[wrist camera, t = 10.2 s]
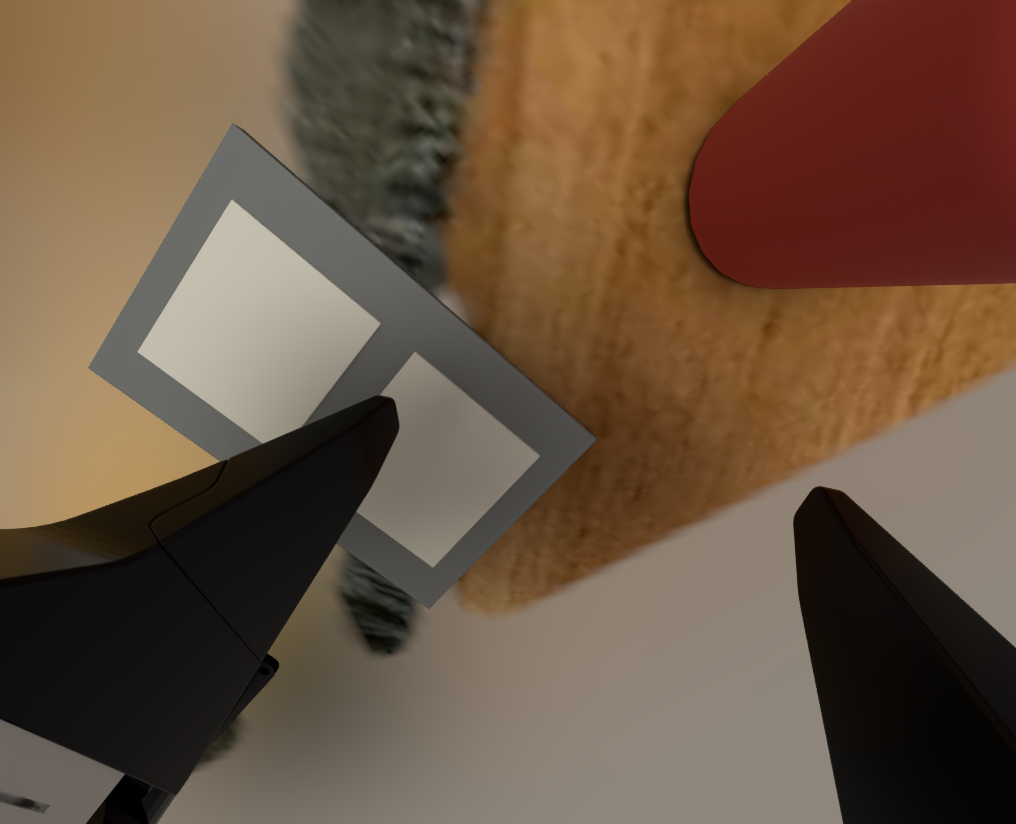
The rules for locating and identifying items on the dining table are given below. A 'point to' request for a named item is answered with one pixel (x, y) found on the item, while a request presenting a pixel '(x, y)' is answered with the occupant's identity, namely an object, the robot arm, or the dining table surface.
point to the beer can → (871, 155)
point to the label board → (335, 366)
